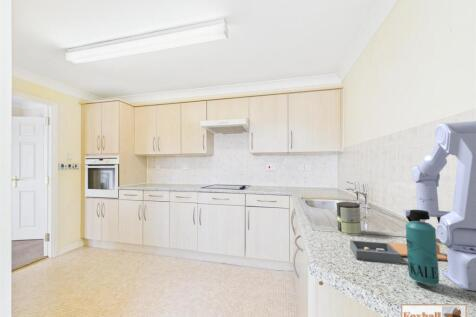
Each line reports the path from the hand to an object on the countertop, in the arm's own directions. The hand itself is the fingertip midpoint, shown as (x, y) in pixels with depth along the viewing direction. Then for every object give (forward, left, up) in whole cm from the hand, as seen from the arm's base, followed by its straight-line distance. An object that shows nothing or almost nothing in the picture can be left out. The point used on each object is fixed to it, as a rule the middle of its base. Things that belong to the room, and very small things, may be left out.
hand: (430, 236), depth 75 cm
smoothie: (+17, -3, -6) cm, 19 cm away
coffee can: (+21, +23, -6) cm, 32 cm away
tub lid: (0, +5, -6) cm, 7 cm away
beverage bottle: (-24, +13, -6) cm, 28 cm away
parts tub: (-6, +20, -6) cm, 22 cm away
